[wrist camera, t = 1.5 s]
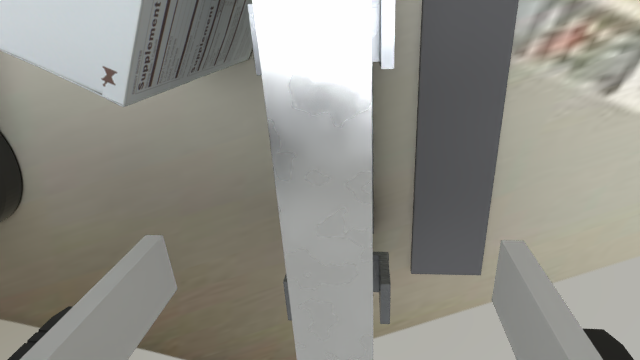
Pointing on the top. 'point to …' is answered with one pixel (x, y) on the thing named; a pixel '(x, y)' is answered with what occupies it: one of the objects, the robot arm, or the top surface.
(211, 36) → the supplement box
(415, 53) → the top surface
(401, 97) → the top surface
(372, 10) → the standards
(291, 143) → the rail
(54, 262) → the top surface
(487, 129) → the mat
